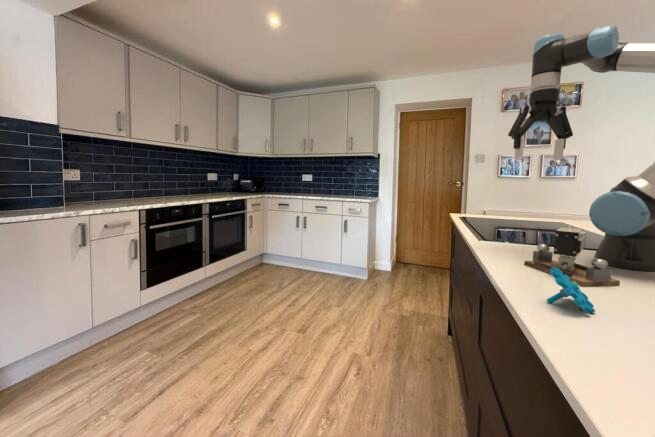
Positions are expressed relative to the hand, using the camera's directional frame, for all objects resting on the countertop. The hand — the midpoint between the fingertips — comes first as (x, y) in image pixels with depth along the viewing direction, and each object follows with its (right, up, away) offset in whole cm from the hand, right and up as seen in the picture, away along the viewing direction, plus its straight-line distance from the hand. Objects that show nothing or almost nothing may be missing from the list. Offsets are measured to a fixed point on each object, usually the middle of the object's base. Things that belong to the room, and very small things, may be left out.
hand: (538, 159), depth 97 cm
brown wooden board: (-3, -34, -16) cm, 37 cm away
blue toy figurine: (-19, -37, -36) cm, 55 cm away
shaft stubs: (-3, -33, -16) cm, 36 cm away
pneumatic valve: (-3, -33, -16) cm, 37 cm away
